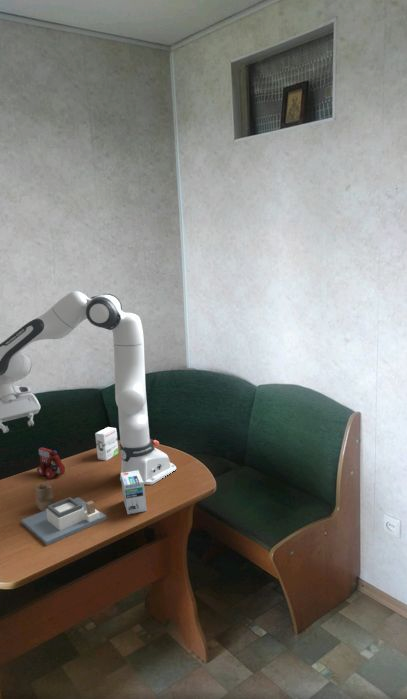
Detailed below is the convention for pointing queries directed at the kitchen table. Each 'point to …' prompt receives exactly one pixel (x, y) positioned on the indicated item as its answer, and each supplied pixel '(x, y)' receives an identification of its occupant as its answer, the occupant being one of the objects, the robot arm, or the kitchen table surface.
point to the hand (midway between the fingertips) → (19, 428)
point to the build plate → (53, 531)
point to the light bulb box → (133, 492)
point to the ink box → (106, 443)
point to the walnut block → (43, 496)
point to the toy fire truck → (49, 463)
